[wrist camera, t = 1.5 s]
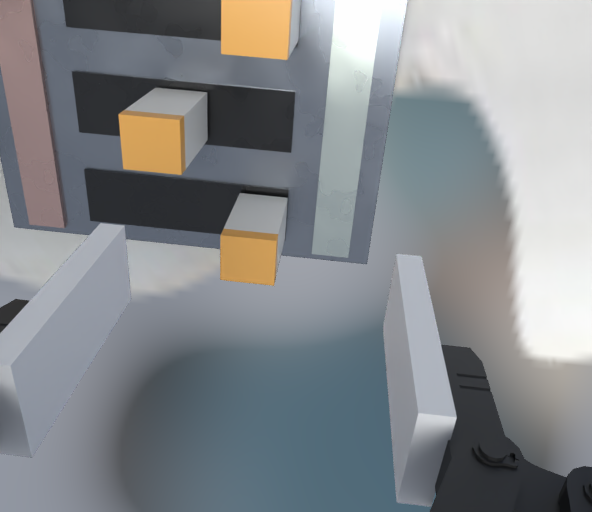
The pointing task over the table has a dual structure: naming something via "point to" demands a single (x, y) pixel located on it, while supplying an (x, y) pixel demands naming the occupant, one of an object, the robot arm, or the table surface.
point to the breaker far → (253, 239)
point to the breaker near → (260, 27)
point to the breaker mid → (163, 130)
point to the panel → (220, 119)
